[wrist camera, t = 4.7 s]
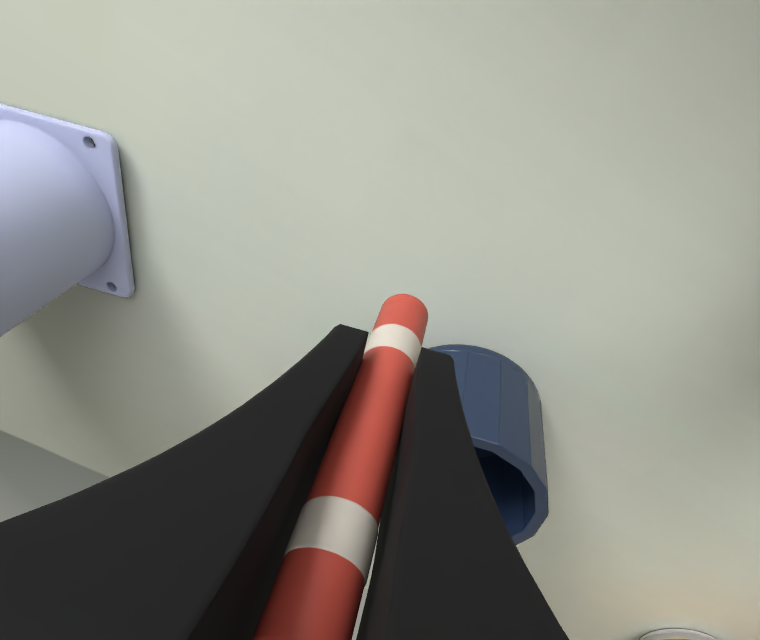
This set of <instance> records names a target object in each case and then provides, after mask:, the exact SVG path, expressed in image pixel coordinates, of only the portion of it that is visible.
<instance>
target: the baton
mask: <svg viewBox="0 0 760 640" xmlns="http://www.w3.org/2000/svg"><path fill="white" fill-rule="evenodd" d="M427 321H428V312H427V309H426V307H425V305H424V304H423V303H422V302H421V301H420V300H419V299H417V298H416V297H414V296H411V295H408V294H397V295H394V296H392V297H390V298H388V299H387V300H386V301H385V302H384V304H383V305H382V308H381V310H380V313H379V316H378V318H377V321H376V323H375V326H374V328H373V331H372V333H371V334H370V336H369V339H368V341H367V344H366V346H365V351H364V355H363V360H362V362H361V365H360V367H359V370H358V373H357V375H356V378H355V380H354V383H353V386H352V388H351V391H350V393H349V395H348V397H347V399H346V402H345V404H344V406H343V408H342V411H341V413H340V415H339V418H338V420H337V423H336V425H335V428H334V431H333V433H332V436H331V438H330V441H329V443H328V446H327V448H326V451H325V454H324V456H323V459H322V461H321V464H320V466H319V469H318V471H317V474H316V477H315V479H314V482H313V484H312V487H311V489H310V492H309V494H308V497H307V500H306V502H305V505H304V506H303V507H302V509H301V511H300V514H299V516H298V519H297V521H296V524H295V526H294V529H293V532H292V534H291V537H290V539H289V542H288V544H287V547H286V549H285V552H284V555H283V561H282V563H281V566H280V569H279V571H278V574H277V576H276V579H275V581H274V584H273V586H272V589H271V592H270V594H269V597H268V599H267V602H266V604H265V607H264V609H263V612H262V615H261V617H260V620H259V622H258V625H257V627H256V630H255V632H254V635H253V638H252V640H352V635H353V631H354V627H355V623H356V619H357V614H358V610H359V606H360V602H361V598H362V593H363V589H364V587H365V585H366V583H367V579H368V574H369V570H370V566H371V562H372V557H373V553H374V549H375V545H376V541H377V536H378V526H379V522H380V518H381V514H382V510H383V506H384V501H385V497H386V493H387V489H388V485H389V480H390V476H391V472H392V468H393V464H394V459H395V455H396V451H397V447H398V443H399V439H400V434H401V430H402V425H403V419H404V413H405V407H406V403H407V398H408V394H409V390H410V386H411V382H412V378H413V374H414V370H415V367H416V364H417V361H418V357H419V354H420V351H421V346H422V342H423V338H424V334H425V330H426V326H427Z"/></svg>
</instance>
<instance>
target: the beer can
mask: <svg viewBox="0 0 760 640" xmlns="http://www.w3.org/2000/svg"><path fill="white" fill-rule="evenodd" d="M640 640H717V639H715V638H714V637H712V636H710V635H707V634H704V633H701V632H698V631H693V630H687V629H663V630H657V631H653V632H650V633H648V634H646V635H644V636H643V637H642V638H641V639H640Z"/></svg>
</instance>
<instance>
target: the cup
mask: <svg viewBox="0 0 760 640" xmlns="http://www.w3.org/2000/svg"><path fill="white" fill-rule="evenodd" d="M430 350H434V351H437V352H441V353H444V354H448V355H451V357H452V359H453V360H454V367H455V374H456V380H457V386H458V391H459V395H460V399H461V404H462V408H463V411H464V415H465V419H466V422H467V425H468V429H469V432H470V435H471V439H472V442H473V445H474V448H475V451H476V454H477V457H478V460H479V462H480V465H481V468H482V470H483V473H484V476H485V478H486V481H487V484H488V486H489V488H490V491H491V493H492V496H493V498H494V500H495V503H496V505H497V507H498V510H499V512H500V514H501V516H502V518H503V520H504V523H505V525H506V527H507V529H508V531H509V533H510V535H511V537H512V539H513V541H514V543H515V545H517V544H519V543H521V542H523V541H525V540H527V539H529V538H530V537H532V536H534V535H535V534H536V532H537V531H538V529H539V528H540V526H541V525H542V523H543V522H544V521H545V519H546V518H547V516H548V514H549V511H548V485H547V473H546V460H545V448H544V436H543V424H542V411H541V401H540V398H539V395H538V391H537V389H536V387H535V385H534V383H533V382H532V380H531V379H530V377H529V376H528V375H527V374H526V373H525V372H524V371H523V369H522V368H520V367H519V366H518V365H517V364H515V363H514V362H513V361H511V360H510V359H508V358H506V357H505V356H503V355H500V354H498V353H496V352H494V351H491V350H488V349H485V348H480V347H476V346H469V345H443V346H438V347H433V348H430Z"/></svg>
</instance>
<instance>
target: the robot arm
mask: <svg viewBox="0 0 760 640" xmlns="http://www.w3.org/2000/svg"><path fill="white" fill-rule="evenodd" d="M90 138H92V139H93V141H94V142H95V145H96V147H95V146H94V145H93V144H92V143H91V140H90ZM112 283H113V284H114V285H115V286H114V285H113V284H112ZM76 284H78V285H82V286H85V287H89V288H92V289H95V290H99V291H102V292H106V293H109V294H112V295H116V296H119V297H123V298H127V297H130V296H131V295H132V294H133V293H134V291H135V286H134V278H133V270H132V261H131V253H130V244H129V236H128V228H127V219H126V211H125V202H124V194H123V186H122V177H121V169H120V160H119V152H118V146H117V143H116V141H115V139H114V138H113V137H112V136H111V135H110V134H108V133H106V132H103V131H99V130H96V129H92V128H88V127H85V126H81V125H77V124H74V123H70V122H66V121H63V120H59V119H55V118H52V117H48V116H44V115H41V114H37V113H33V112H30V111H26V110H22V109H19V108H15V107H11V106H7V105H4V104H0V337H1V336H2V335H4V334H5V333H7V332H8V331H10V330H11V329H12V328H14V327H15V326H17V325H18V324H20V323H21V322H23V321H24V320H25V319H27V318H28V317H30V316H31V315H33V314H34V313H35V312H37V311H38V310H40V309H41V308H43V307H44V306H46V305H47V304H48V303H50V302H51V301H53V300H54V299H56V298H57V297H58V296H60V295H61V294H63V293H64V292H66V291H67V290H69V289H70V288H71V287H73V286H74V285H76ZM367 337H368V332H366V331H363V330H359V329H356V328H352V327H349V326H345V325H342V324H340V325H338V326H336V327H334V328H333V329H332V331H331V332H330V333H329V334H328V335H327V336H326V337H325V338H324V339H323V340H322V341H321V342H320V343H319V344H318V345H317V346H315V347H314V348H313V349H312V350H311V351H310V352H309V353H308V354H307V355H306V356H304V357H303V358H302V359H301V360H300V361H299V362H298V363H296V364H295V365H294V366H293V367H291V368H290V369H289V370H288V371H287V372H285V373H284V374H283V375H282V376H281V377H279V378H278V379H277V380H276V381H274V382H273V383H272V384H270V385H269V386H268V387H266V388H265V389H264V390H262V391H261V392H260V393H258V394H257V395H255V396H254V397H253V398H251V399H250V400H249V401H247V402H246V403H244V404H243V405H242V406H240V407H239V408H237V409H236V410H234V411H233V412H231V413H230V414H228V415H227V416H225V417H223V418H222V419H220V420H219V421H217V422H216V423H214V424H212V425H211V426H209V427H207V428H206V429H204V430H202V431H201V432H199V433H197V434H196V435H194V436H192V437H190V438H188V439H187V440H185V441H183V442H181V443H179V444H178V445H176V446H174V447H172V448H170V449H168V450H167V451H165V452H163V453H161V454H159V455H157V456H155V457H153V458H151V459H149V460H147V461H145V462H143V463H141V464H139V465H137V466H135V467H133V468H131V469H128V470H126V471H124V472H122V473H120V474H117V475H115V476H113V477H111V478H109V479H107V480H104V481H102V482H100V483H98V484H95V485H93V486H91V487H89V488H87V489H84V490H82V491H80V492H78V493H75V494H73V495H70V496H68V497H65V498H63V499H61V500H58V501H56V502H53V503H50V504H48V505H45V506H42V507H40V508H37V509H34V510H32V511H29V512H27V513H24V514H21V515H19V516H16V517H13V518H11V519H8V520H5V521H3V522H0V640H252V638H253V635H254V632H255V630H256V627H257V625H258V622H259V620H260V617H261V615H262V612H263V609H264V607H265V604H266V602H267V599H268V597H269V594H270V592H271V589H272V586H273V584H274V581H275V579H276V576H277V574H278V571H279V569H280V566H281V563H282V561H283V555H284V552H285V549H286V547H287V544H288V542H289V539H290V537H291V534H292V532H293V529H294V526H295V524H296V521H297V519H298V516H299V514H300V511H301V509H302V507H303V506H304V505H305V502H306V500H307V497H308V494H309V492H310V489H311V487H312V484H313V482H314V479H315V477H316V474H317V471H318V469H319V466H320V464H321V461H322V459H323V456H324V454H325V451H326V448H327V446H328V443H329V441H330V438H331V436H332V433H333V431H334V428H335V425H336V423H337V420H338V418H339V415H340V413H341V411H342V408H343V406H344V404H345V402H346V399H347V397H348V395H349V393H350V391H351V388H352V386H353V383H354V380H355V378H356V375H357V373H358V370H359V367H360V365H361V362H362V360H363V355H364V351H365V346H366V341H367ZM356 640H569V638H568V637H567V635H566V634H565V632H564V631H563V629H562V627H561V626H560V624H559V623H558V621H557V619H556V617H555V616H554V614H553V612H552V610H551V609H550V607H549V605H548V603H547V602H546V600H545V598H544V596H543V595H542V593H541V591H540V589H539V588H538V586H537V584H536V582H535V581H534V579H533V577H532V575H531V574H530V572H529V570H528V568H527V567H526V565H525V563H524V561H523V559H522V557H521V555H520V553H519V551H518V549H517V547H516V545H515V543H514V541H513V539H512V537H511V535H510V533H509V531H508V529H507V527H506V525H505V523H504V520H503V518H502V516H501V514H500V512H499V510H498V507H497V505H496V503H495V500H494V498H493V496H492V493H491V491H490V488H489V486H488V484H487V481H486V478H485V476H484V473H483V470H482V468H481V465H480V462H479V460H478V457H477V454H476V451H475V448H474V445H473V442H472V439H471V435H470V432H469V429H468V425H467V422H466V419H465V415H464V411H463V408H462V404H461V399H460V395H459V391H458V386H457V380H456V374H455V367H454V360H453V359H452V357H451V355H448V354H444V353H441V352H437V351H434V350H430V349H427V348H423V347H422V348H421V351H420V354H419V357H418V361H417V364H416V367H415V370H414V374H413V378H412V382H411V386H410V390H409V394H408V398H407V403H406V407H405V413H404V419H403V425H402V430H401V434H400V439H399V443H398V447H397V451H396V455H395V459H394V464H393V468H392V472H391V476H390V480H389V485H388V489H387V493H386V497H385V501H384V506H383V510H382V514H381V520H380V526H379V533H378V540H377V546H376V553H375V559H374V564H373V570H372V575H371V580H370V585H369V589H368V593H367V598H366V601H365V605H364V609H363V614H362V618H361V622H360V626H359V630H358V634H357V639H356Z"/></svg>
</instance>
